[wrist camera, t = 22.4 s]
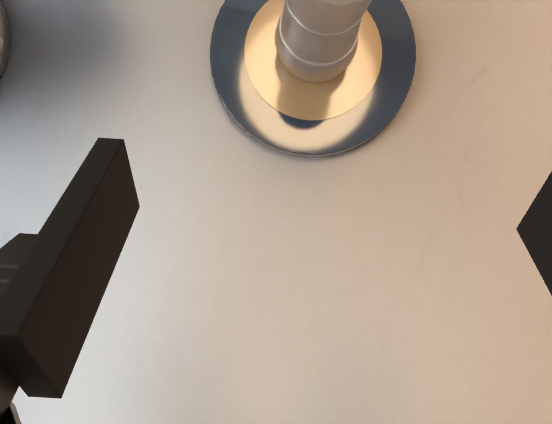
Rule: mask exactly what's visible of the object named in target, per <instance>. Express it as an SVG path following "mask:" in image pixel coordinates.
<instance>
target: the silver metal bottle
mask: <svg viewBox="0 0 552 424" xmlns="http://www.w3.org/2000/svg"><path fill="white" fill-rule="evenodd" d="M371 1H372V0H285V3H284V8H283V12H282V14H281V16H280V18H279V21H278V25H277V28H276V31H275V45H276V49H277V52H278V55H279V58H280V60H281V62H282V64H283V65H284V67H285V68H286V69H287V70H288V71H289V72H290V73H291V74H292V75H294V76H295V77H297V78H299V79H301V80H304V81H308V82H323V81H327V80H330V79H332V78H334V77H336V76H337V75H338V74H340V73H341V72H342V71H343V70H344V69H346V68H347V66H348V65H349V64H350V63H351V61H352V59H353V58H354V56H355V53H356V49H357V45H358V37H359V27H360V23H361V19H362V17H363V15H364V13H365V11H366V10H367V8H368V6H369V4H370V3H371Z"/></svg>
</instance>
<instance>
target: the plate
mask: <svg viewBox="0 0 552 424" xmlns="http://www.w3.org/2000/svg"><path fill="white" fill-rule="evenodd" d="M284 3H285V0H225V2H224V4H223V5H222V7H221V9H220V11H219V14H218V16H217V18H216V21H215V24H214V28H213V32H212V37H211V45H210V62H211V70H212V75H213V79H214V82H215V86H216V88H217V91H218V93H219V96H220V98H221V100H222V103H223V104H224V106H225V108H226V109H227V111H228V113H229V114H230V115H231V117H232V118H233V119H234V121H235V122H236V123H237V124H238V125H239V126H240V127H241V128H242V129H243V130H244V131H245V132H246V133H247V134H249V135H250V136H251V137H253V138H254V139H255V140H256V141H258V142H260V143H262V144H263V145H265V146H267V147H269V148H272V149H274V150H276V151H279V152H282V153H286V154H290V155H294V156H302V157H323V156H331V155H335V154H339V153H343V152H346V151H348V150H351V149H353V148H356V147H358V146H359V145H361V144H363V143H365V142H366V141H368V140H370V139H371V138H372V137H373V136H375V135H376V134H377V133H379V132H380V131H381V130H382V129H383V128H384V127H385V126H386V125H387V124H388V123H389V122H390V121H391V120H392V118H393V117H394V116H395V115H396V113H397V112H398V111H399V109H400V107H401V106H402V104H403V102H404V100H405V99H406V97H407V94H408V92H409V89H410V87H411V83H412V80H413V76H414V71H415V62H416V45H415V39H414V32H413V29H412V25H411V22H410V19H409V17H408V14H407V12H406V10H405V8H404V6H403V4H402V3H401V1H400V0H372V1H371V3H370V4H369V6H368V8H367V10H366V11H365V13H364V15H363V17H362V19H361V23H360V27H359V37H358V45H357V49H356V53H355V56H354V58H353V59H352V61H351V63H350V64H349V65H348V66H347V68H346V69H344V70H343V71H342V72H341V73H340V74H338V75H337V76H336V77H334V78H332V79H330V80H327V81H323V82H308V81H304V80H301V79H299V78H297V77H295V76H294V75H292V74H291V73H290V72H289V71H288V70H287V69H286V68H285V67H284V65H283V64H282V62H281V60H280V58H279V55H278V52H277V49H276V45H275V31H276V28H277V25H278V21H279V18H280V16H281V14H282V12H283V8H284Z"/></svg>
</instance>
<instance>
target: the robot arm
mask: <svg viewBox="0 0 552 424" xmlns="http://www.w3.org/2000/svg"><path fill="white" fill-rule="evenodd" d="M9 48H10V29H9V23H8V19H7V15H6V12H5V10H4V7H3V5H2V3H1V1H0V78H1V76H2V74H3V71H4V69H5V66H6V63H7V59H8V55H9ZM139 207H140V206H139V202H138V197H137V193H136V189H135V185H134V181H133V176H132V172H131V168H130V164H129V160H128V155H127V151H126V147H125V143H124V139H110V138H98V139H97V141H96V142H95V144H94V146H93V147H92V149H91V150H90V152H89V154H88V155H87V157H86V158H85V160H84V162H83V163H82V165H81V166H80V168H79V170H78V171H77V173H76V174H75V176H74V178H73V179H72V181H71V182H70V184H69V186H68V187H67V189H66V190H65V192H64V194H63V195H62V197H61V198H60V200H59V201H58V203H57V205H56V206H55V208H54V209H53V211H52V213H51V214H50V216H49V217H48V219H47V221H46V222H45V224H44V225H43V227H42V229H41V230H40V232H39V233H38V234H23V233H19V234H18V235H17V236H15V237H14V238H13V239H12V240H10V241H9V242H8V243H7V244H5V245H4V246H3V247H1V249H0V424H21V422H20V419H19V416H18V413H17V410H16V407H15V405H14V404H13V402H12V399H13V397H14V395H15V393H16V391H17V389H18V387H19V386H20V387H21V388H22V390H23V391H24V392H25V393H26V394H27V396H29V397H46V398H62V395H63V393H64V390H65V388H66V385H67V383H68V380H69V378H70V376H71V373H72V371H73V368H74V366H75V363H76V361H77V358H78V356H79V354H80V351H81V349H82V346H83V344H84V341H85V339H86V336H87V334H88V332H89V329H90V327H91V324H92V322H93V319H94V317H95V314H96V312H97V310H98V307H99V305H100V302H101V300H102V297H103V295H104V293H105V290H106V288H107V285H108V283H109V280H110V278H111V275H112V273H113V271H114V268H115V266H116V263H117V261H118V258H119V256H120V253H121V251H122V249H123V246H124V244H125V241H126V239H127V236H128V234H129V231H130V229H131V227H132V224H133V222H134V219H135V217H136V214H137V212H138V209H139ZM516 229H517V231H518V233H519V235H520V237H521V239H522V241H523V242H524V244H525V246H526V248H527V250H528V252H529V254H530V256H531V257H532V259H533V261H534V263H535V265H536V267H537V269H538V271H539V272H540V274H541V276H542V278H543V280H544V282H545V284H546V286H547V287H548V289H549V291H550V293H551V295H552V172H551V173H550V175H549V177H548V178H547V180H546V181H545V183H544V185H543V186H542V188H541V190H540V191H539V193H538V194H537V196H536V198H535V199H534V201H533V202H532V204H531V206H530V207H529V209H528V211H527V212H526V214H525V215H524V217H523V219H522V220H521V222H520V224H519V225H518V227H517V228H516Z"/></svg>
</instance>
